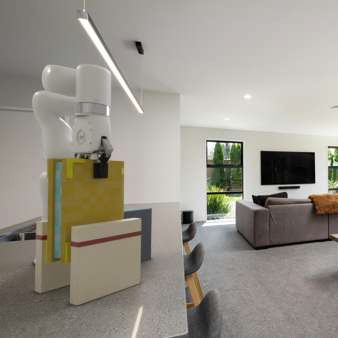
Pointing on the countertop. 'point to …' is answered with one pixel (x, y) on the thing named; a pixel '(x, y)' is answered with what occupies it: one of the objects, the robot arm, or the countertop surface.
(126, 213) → the grey book
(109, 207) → the book
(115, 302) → the countertop surface
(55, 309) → the countertop surface
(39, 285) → the cream book
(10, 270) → the countertop surface
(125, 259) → the cream panel
